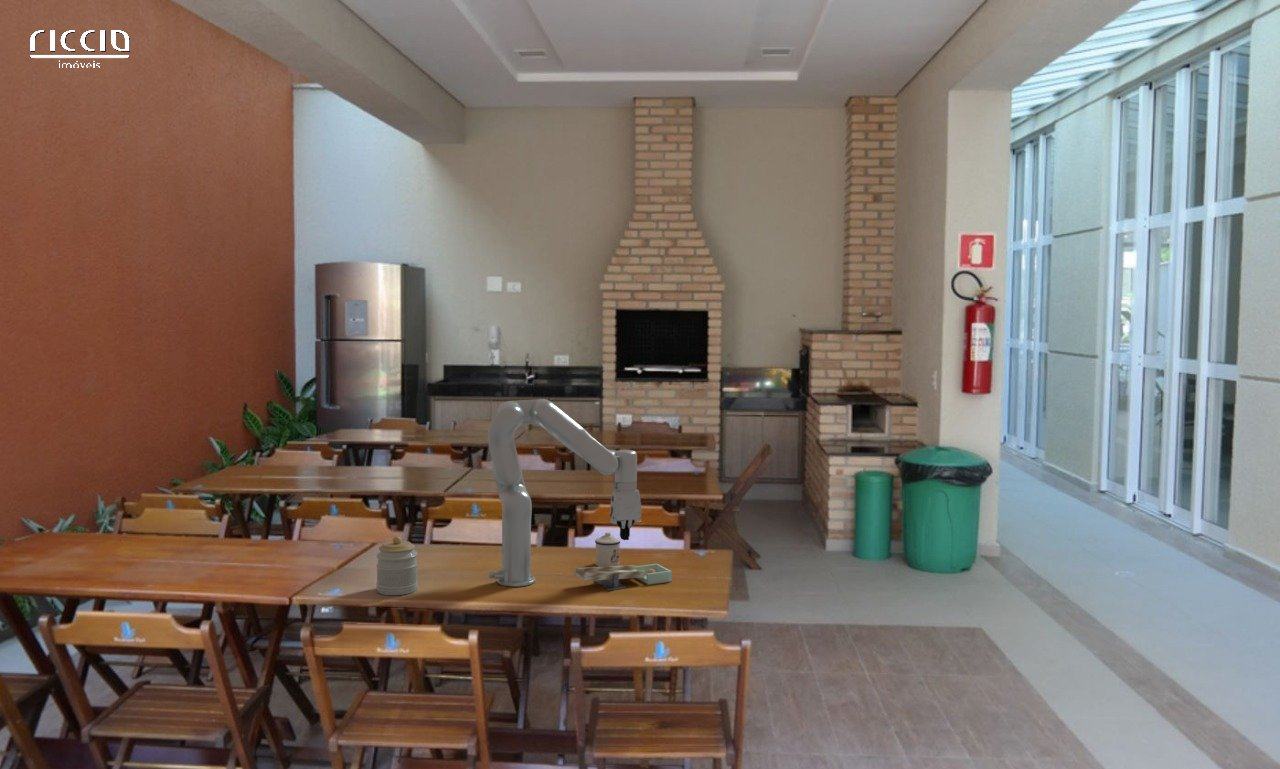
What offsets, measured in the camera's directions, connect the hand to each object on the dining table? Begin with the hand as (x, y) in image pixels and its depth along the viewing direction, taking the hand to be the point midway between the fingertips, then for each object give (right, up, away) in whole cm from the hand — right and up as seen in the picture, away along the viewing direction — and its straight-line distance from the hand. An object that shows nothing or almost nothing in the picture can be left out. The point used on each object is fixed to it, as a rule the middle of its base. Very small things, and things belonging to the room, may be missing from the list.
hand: (624, 539), depth 323 cm
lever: (-6, -11, -7) cm, 14 cm away
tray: (+9, -13, -2) cm, 16 cm away
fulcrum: (-5, -14, -9) cm, 17 cm away
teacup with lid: (-6, -12, +17) cm, 21 cm away
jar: (-73, -14, -18) cm, 77 cm away
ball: (+9, -11, -2) cm, 15 cm away
